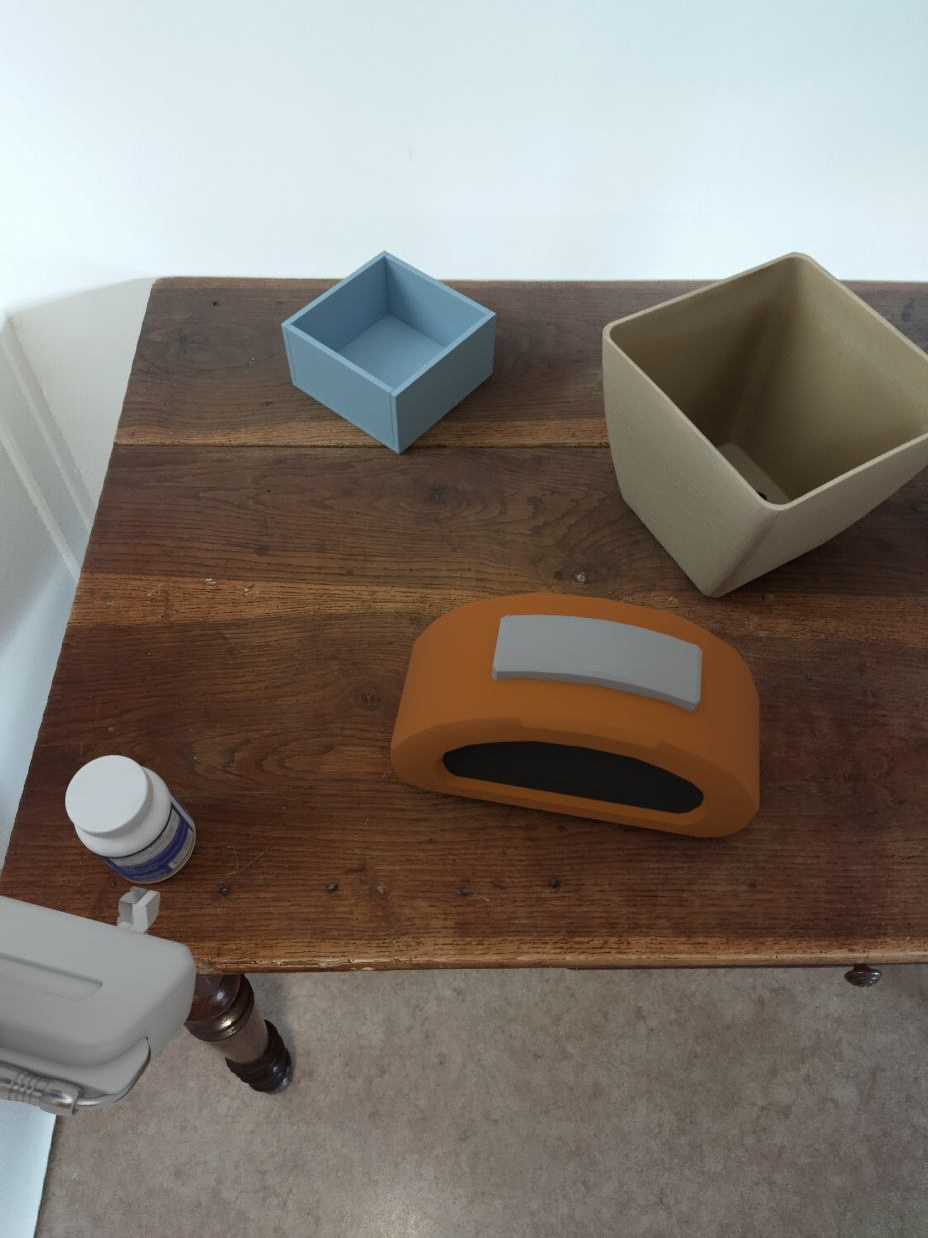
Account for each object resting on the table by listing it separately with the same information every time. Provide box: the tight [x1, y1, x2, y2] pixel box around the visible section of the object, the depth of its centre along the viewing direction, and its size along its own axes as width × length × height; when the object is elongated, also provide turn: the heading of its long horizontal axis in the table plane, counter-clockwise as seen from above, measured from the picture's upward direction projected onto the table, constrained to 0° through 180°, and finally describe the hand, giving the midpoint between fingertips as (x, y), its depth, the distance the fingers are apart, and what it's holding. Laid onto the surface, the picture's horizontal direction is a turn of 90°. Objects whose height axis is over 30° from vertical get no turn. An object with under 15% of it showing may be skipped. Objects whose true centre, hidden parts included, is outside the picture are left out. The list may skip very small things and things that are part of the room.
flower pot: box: [601, 251, 928, 599], centre depth 68 cm, size 19×19×17 cm
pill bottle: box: [64, 754, 197, 884], centre depth 55 cm, size 6×6×10 cm
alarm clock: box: [390, 591, 760, 839], centre depth 56 cm, size 23×9×17 cm, turn 80°
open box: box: [280, 250, 497, 455], centre depth 79 cm, size 13×13×7 cm
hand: (67, 879), depth 48 cm, fingers open, 8 cm apart
